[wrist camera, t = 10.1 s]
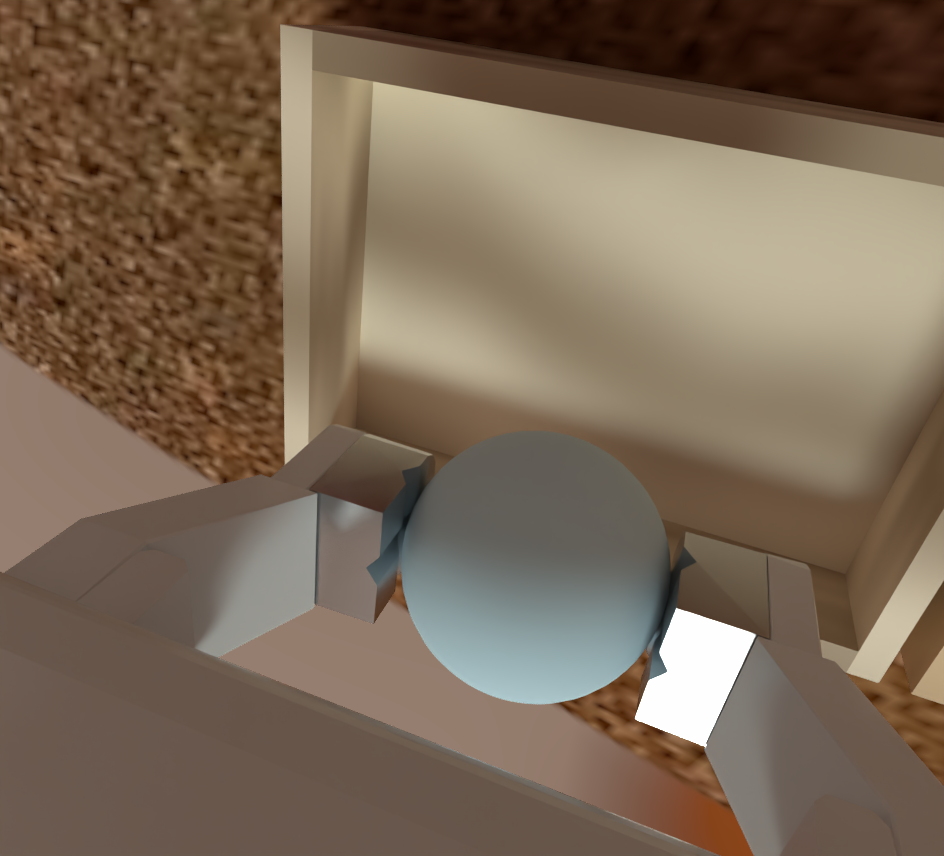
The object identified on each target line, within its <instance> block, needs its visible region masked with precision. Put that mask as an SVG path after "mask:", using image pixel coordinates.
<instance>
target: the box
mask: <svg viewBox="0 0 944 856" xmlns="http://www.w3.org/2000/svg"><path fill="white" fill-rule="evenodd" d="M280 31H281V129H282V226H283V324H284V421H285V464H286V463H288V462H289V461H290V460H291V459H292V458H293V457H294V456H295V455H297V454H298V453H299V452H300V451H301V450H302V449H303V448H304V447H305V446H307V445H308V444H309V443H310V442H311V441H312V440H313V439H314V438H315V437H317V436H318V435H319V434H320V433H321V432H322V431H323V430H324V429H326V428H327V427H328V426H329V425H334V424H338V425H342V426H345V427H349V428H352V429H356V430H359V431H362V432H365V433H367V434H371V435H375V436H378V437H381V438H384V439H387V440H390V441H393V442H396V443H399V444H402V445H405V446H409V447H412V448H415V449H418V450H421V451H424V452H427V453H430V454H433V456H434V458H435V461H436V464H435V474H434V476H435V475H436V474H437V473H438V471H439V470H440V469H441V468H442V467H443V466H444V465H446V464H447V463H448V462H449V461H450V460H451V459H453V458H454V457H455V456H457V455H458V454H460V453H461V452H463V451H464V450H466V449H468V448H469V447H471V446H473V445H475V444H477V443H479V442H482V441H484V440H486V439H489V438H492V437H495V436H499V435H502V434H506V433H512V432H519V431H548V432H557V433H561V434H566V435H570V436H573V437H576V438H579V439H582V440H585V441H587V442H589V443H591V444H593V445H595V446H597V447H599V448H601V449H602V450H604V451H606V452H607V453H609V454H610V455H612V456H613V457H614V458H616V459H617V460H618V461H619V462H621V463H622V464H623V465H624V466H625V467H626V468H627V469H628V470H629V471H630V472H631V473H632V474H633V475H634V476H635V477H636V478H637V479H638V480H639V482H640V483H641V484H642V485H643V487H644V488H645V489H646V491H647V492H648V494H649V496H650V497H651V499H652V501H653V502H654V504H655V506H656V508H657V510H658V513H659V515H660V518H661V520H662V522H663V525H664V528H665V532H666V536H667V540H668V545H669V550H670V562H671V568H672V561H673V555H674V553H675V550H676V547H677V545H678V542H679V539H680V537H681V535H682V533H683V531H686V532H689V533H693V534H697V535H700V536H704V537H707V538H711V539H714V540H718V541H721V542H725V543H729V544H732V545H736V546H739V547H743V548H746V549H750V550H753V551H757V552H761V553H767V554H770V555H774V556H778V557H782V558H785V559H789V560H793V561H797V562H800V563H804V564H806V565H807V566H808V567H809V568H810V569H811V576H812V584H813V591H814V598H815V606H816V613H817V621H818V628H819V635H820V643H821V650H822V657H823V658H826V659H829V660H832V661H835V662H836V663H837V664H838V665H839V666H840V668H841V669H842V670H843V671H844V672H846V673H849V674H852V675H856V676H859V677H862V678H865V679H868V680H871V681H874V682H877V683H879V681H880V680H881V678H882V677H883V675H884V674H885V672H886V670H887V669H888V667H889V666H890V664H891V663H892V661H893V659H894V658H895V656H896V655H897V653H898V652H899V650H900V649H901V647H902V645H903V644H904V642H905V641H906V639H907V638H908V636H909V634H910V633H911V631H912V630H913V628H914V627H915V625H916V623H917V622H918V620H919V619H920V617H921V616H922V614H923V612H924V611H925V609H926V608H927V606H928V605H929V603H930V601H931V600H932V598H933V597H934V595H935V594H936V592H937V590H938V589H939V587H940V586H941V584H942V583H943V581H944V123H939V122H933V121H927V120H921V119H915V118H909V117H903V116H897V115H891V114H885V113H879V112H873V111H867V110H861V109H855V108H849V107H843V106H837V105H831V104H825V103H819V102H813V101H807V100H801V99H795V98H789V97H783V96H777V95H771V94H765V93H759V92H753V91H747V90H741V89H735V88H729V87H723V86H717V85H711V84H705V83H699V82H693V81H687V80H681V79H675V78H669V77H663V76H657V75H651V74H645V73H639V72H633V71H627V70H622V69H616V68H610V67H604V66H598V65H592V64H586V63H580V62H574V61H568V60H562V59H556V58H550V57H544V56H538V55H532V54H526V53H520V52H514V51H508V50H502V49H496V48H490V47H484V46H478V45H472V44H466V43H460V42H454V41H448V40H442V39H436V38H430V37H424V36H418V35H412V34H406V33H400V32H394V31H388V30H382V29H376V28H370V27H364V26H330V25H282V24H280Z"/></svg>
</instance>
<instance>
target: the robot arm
mask: <svg viewBox="0 0 944 856" xmlns="http://www.w3.org/2000/svg"><path fill="white" fill-rule="evenodd" d="M435 464H436V461H435V458H434V456H433V454H430V453H427V452H424V451H421V450H418V449H415V448H412V447H409V446H405V445H402V444H399V443H396V442H393V441H390V440H387V439H384V438H381V437H378V436H375V435H371V434H367V433H365V432H362V431H359V430H356V429H352V428H349V427H345V426H342V425H338V424H334V425H329V426H328V427H327V428H326V429H324V430H323V431H322V432H321V433H320V434H319V435H318V436H317V437H315V438H314V439H313V440H312V441H311V442H310V443H309V444H308V445H307V446H305V447H304V448H303V449H302V450H301V451H300V452H299V453H298V454H297V455H295V456H294V457H293V458H292V459H291V460H290V461H289V462H288V463H286V464H285V465H284V466H283V467H282V468H281V469H280V470H279V471H278V472H276V473H275V474H274V475H273V476H272V477H271V478H269V477H266V476H263V475H258V476H254V477H250V478H246V479H241V480H237V481H233V482H229V483H225V484H221V485H217V486H213V487H209V488H205V489H201V490H197V491H193V492H189V493H185V494H181V495H177V496H173V497H168V498H164V499H161V500H156V501H152V502H148V503H144V504H140V505H136V506H131V507H128V508H123V509H120V510H115V511H111V512H107V513H103V514H100V515H95V516H91V517H87V518H83V519H80V520H79V521H77V522H76V523H74V524H73V525H72V526H70V527H69V528H67V529H66V530H64V531H63V532H62V533H60V534H59V535H57V536H56V537H55V538H53V539H52V540H50V541H49V542H47V543H46V544H44V545H43V546H42V547H40V548H39V549H37V550H36V551H35V552H33V553H32V554H30V555H29V556H28V557H26V558H25V559H23V560H22V561H20V562H19V563H18V564H16V565H15V566H13V567H12V568H10V569H9V570H8V571H6V572H5V573H2V572H0V856H720V855H717V854H715V853H712V852H710V851H707V850H704V849H702V848H699V847H697V846H695V845H692V844H690V843H687V842H684V841H682V840H679V839H677V838H674V837H672V836H669V835H667V834H664V833H662V832H659V831H657V830H654V829H652V828H649V827H647V826H644V825H641V824H639V823H637V822H634V821H631V820H629V819H626V818H624V817H621V816H619V815H616V814H614V813H611V812H609V811H606V810H604V809H601V808H598V807H596V806H594V805H591V804H588V803H586V802H584V801H581V800H578V799H576V798H573V797H571V796H568V795H566V794H563V793H561V792H558V791H556V790H553V789H551V788H548V787H546V786H543V785H541V784H538V783H536V782H533V781H531V780H528V779H525V778H523V777H520V776H518V775H515V774H513V773H510V772H508V771H505V770H502V769H500V768H497V767H495V766H492V765H490V764H487V763H485V762H482V761H480V760H477V759H474V758H472V757H469V756H467V755H464V754H462V753H459V752H457V751H454V750H452V749H449V748H447V747H444V746H442V745H439V744H436V743H434V742H431V741H428V740H426V739H424V738H421V737H419V736H416V735H414V734H411V733H408V732H406V731H403V730H400V729H398V728H396V727H393V726H391V725H388V724H386V723H383V722H380V721H378V720H375V719H373V718H370V717H368V716H365V715H363V714H360V713H358V712H355V711H352V710H350V709H347V708H345V707H342V706H340V705H337V704H335V703H332V702H330V701H327V700H325V699H322V698H319V697H317V696H314V695H312V694H309V693H307V692H304V691H301V690H299V689H297V688H294V687H291V686H289V685H286V684H284V683H281V682H279V681H276V680H274V679H271V678H268V677H266V676H264V675H261V674H258V673H256V672H253V671H251V670H248V669H245V668H243V667H241V666H238V665H236V664H233V663H230V662H228V661H225V660H223V659H220V658H218V657H220V656H222V655H224V654H225V653H228V652H230V651H231V650H233V649H235V648H237V647H239V646H241V645H243V644H245V643H247V642H249V641H251V640H253V639H255V638H257V637H259V636H260V635H262V634H264V633H266V632H268V631H270V630H272V629H274V628H276V627H278V626H280V625H282V624H284V623H286V622H288V621H290V620H291V619H294V618H295V617H297V616H299V615H301V614H303V613H305V612H307V611H309V610H311V609H313V608H314V604H315V605H318V606H321V607H324V608H327V609H330V610H333V611H336V612H339V613H342V614H346V615H349V616H352V617H354V618H358V619H360V620H363V621H367V622H369V623H372V624H374V623H375V621H376V619H377V618H378V616H379V615H380V613H381V612H382V610H383V609H384V607H385V606H386V604H387V603H388V601H389V600H390V598H391V597H392V595H393V594H394V592H395V587H396V578H397V575H398V574H400V573H401V555H402V547H403V541H404V535H405V530H406V527H407V525H408V522H409V519H410V516H411V513H412V511H413V508H414V506H415V504H416V503H417V501H418V499H419V497H420V496H421V494H422V492H423V490H424V489H425V487H426V486H427V484H428V483H429V482H430V481H431V480H432V478H433V477H434V474H435ZM646 652H647V654H648V656H649V658H648V660H647V663H646V666H645V669H644V672H643V674H642V677H641V684H640V690H639V697H638V703H637V710H636V716H635V719H637V720H639V721H642V722H645V723H647V724H650V725H652V726H655V727H657V728H660V729H662V730H665V731H668V732H670V733H673V734H675V735H678V736H680V737H683V738H685V739H688V740H691V741H693V742H696V743H698V744H701V745H703V746H706V747H705V749H704V750H705V752H706V754H707V756H708V758H709V761H710V763H711V765H712V767H713V769H714V771H715V773H716V776H717V778H718V780H719V782H720V784H721V786H722V788H723V791H724V793H725V795H726V797H727V799H728V801H729V803H730V806H731V808H732V810H733V812H734V814H735V816H736V818H737V820H738V823H739V825H740V827H741V829H742V831H743V833H744V835H745V837H746V840H747V842H748V844H749V846H750V848H751V850H752V852H753V854H754V856H944V786H943V785H942V784H941V783H940V781H939V780H938V779H937V778H936V777H935V776H934V775H933V773H932V772H931V771H930V770H929V769H928V768H927V766H926V765H925V764H924V763H923V762H922V761H921V760H920V758H919V757H918V756H917V755H916V754H915V753H914V752H913V750H912V749H911V748H910V747H909V746H908V745H907V743H906V742H905V741H904V740H903V739H902V738H901V737H900V735H899V734H898V733H897V732H896V731H895V730H894V729H893V727H892V726H891V725H890V724H889V723H888V722H887V720H886V719H885V718H884V717H883V716H882V715H881V714H880V712H879V711H878V710H877V709H876V708H875V707H874V706H873V704H872V703H871V702H870V701H869V700H868V699H867V697H866V696H865V695H864V694H863V693H862V692H861V691H860V689H859V688H858V687H857V686H856V685H855V684H854V683H853V681H852V680H851V679H850V678H849V677H848V676H847V674H846V673H845V672H844V671H843V670H842V669H841V668H840V666H839V665H838V664H837V663H836V662H835V661H832V660H829V659H826V658H823V657H822V650H821V643H820V635H819V628H818V621H817V613H816V606H815V598H814V591H813V584H812V576H811V569H810V568H809V567H808V566H807V565H806V564H804V563H800V562H797V561H793V560H789V559H785V558H782V557H778V556H774V555H770V554H767V553H761V552H757V551H753V550H750V549H746V548H743V547H739V546H736V545H732V544H729V543H725V542H721V541H718V540H714V539H711V538H707V537H704V536H700V535H697V534H693V533H689V532H686V531H683V533H682V535H681V537H680V539H679V542H678V545H677V547H676V550H675V553H674V555H673V561H672V568H671V576H670V584H669V595H668V598H667V602H666V606H665V610H664V614H663V617H662V619H661V621H660V624H659V626H658V628H657V630H656V632H655V634H654V636H653V638H652V640H651V642H650V643H649V644H648V646H647V647H646Z"/></svg>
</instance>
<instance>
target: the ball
mask: <svg viewBox="0 0 944 856" xmlns="http://www.w3.org/2000/svg"><path fill="white" fill-rule="evenodd" d="M401 573H402V583H403V591H404V595H405V599H406V602H407V606H408V609H409V613H410V615H411V618H412V620H413V622H414V625H415V626H416V628H417V630H418V632H419V634H420V635H421V637H422V639H423V641H424V642H425V644H426V645H427V647H428V648H429V649H430V651H431V652H432V653H433V655H434V656H435V657H436V658H437V659H438V660H439V661H440V662H441V663H442V664H443V665H444V666H445V667H446V668H447V669H448V670H449V671H451V672H452V673H453V674H454V675H456V676H457V677H458V678H459V679H461V680H462V681H464V682H465V683H467V684H469V685H470V686H472V687H474V688H475V689H478V690H479V691H482V692H484V693H486V694H488V695H491V696H494V697H497V698H500V699H504V700H508V701H513V702H519V703H527V704H551V703H558V702H563V701H568V700H573V699H576V698H579V697H582V696H585V695H588V694H590V693H592V692H594V691H596V690H598V689H600V688H602V687H604V686H606V685H608V684H609V683H611V682H612V681H613V680H615V679H616V678H618V677H619V676H620V675H621V674H622V673H624V672H625V671H626V670H627V669H628V668H629V667H630V666H631V665H632V664H633V663H634V662H635V661H636V660H637V659H638V658H639V656H640V655H641V654H642V653H643V651H644V650H645V649H646V647H647V646H648V644H649V643H650V642H651V640H652V638H653V636H654V634H655V632H656V630H657V628H658V626H659V624H660V621H661V619H662V617H663V614H664V610H665V606H666V602H667V598H668V595H669V584H670V576H671V562H670V550H669V545H668V540H667V536H666V532H665V528H664V525H663V522H662V520H661V518H660V515H659V513H658V510H657V508H656V506H655V504H654V502H653V501H652V499H651V497H650V496H649V494H648V492H647V491H646V489H645V488H644V487H643V485H642V484H641V483H640V482H639V480H638V479H637V478H636V477H635V476H634V475H633V474H632V473H631V472H630V471H629V470H628V469H627V468H626V467H625V466H624V465H623V464H622V463H621V462H619V461H618V460H617V459H616V458H614V457H613V456H612V455H610V454H609V453H607V452H606V451H604V450H602V449H601V448H599V447H597V446H595V445H593V444H591V443H589V442H587V441H585V440H582V439H579V438H576V437H573V436H570V435H566V434H561V433H557V432H548V431H519V432H512V433H506V434H502V435H499V436H495V437H492V438H489V439H486V440H484V441H482V442H479V443H477V444H475V445H473V446H471V447H469V448H468V449H466V450H464V451H463V452H461V453H460V454H458V455H457V456H455V457H454V458H453V459H451V460H450V461H449V462H448V463H447V464H446V465H444V466H443V467H442V468H441V469H440V470H439V471H438V473H437V474H436V475H435V476H434V477H433V478H432V480H431V481H430V482H429V483H428V484H427V486H426V487H425V489H424V490H423V492H422V494H421V496H420V497H419V499H418V501H417V503H416V504H415V506H414V508H413V511H412V513H411V516H410V519H409V522H408V525H407V527H406V530H405V535H404V541H403V547H402V555H401Z"/></svg>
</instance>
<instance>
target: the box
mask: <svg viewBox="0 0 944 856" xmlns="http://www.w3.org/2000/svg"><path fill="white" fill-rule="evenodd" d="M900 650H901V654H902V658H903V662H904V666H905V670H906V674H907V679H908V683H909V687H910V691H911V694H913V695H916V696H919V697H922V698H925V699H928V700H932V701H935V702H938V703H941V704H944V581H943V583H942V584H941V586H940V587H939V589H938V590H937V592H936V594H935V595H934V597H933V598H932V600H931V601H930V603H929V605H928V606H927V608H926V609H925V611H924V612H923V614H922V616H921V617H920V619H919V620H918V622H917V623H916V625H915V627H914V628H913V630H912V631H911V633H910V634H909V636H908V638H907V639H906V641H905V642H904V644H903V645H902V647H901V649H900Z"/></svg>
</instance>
